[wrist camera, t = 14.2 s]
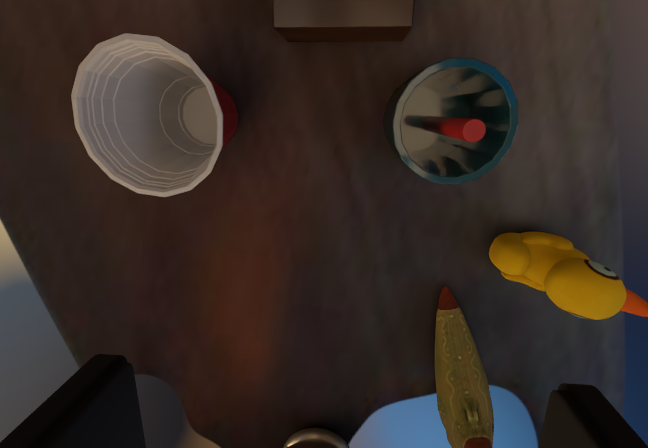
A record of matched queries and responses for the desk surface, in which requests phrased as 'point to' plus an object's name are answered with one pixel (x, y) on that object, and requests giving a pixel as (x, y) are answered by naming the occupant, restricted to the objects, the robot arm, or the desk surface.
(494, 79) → the tumbler
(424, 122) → the straw
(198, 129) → the plastic cup
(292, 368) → the desk surface
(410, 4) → the straw stand
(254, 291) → the desk surface
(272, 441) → the desk surface
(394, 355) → the desk surface
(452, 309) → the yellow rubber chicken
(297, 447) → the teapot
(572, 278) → the duckling
